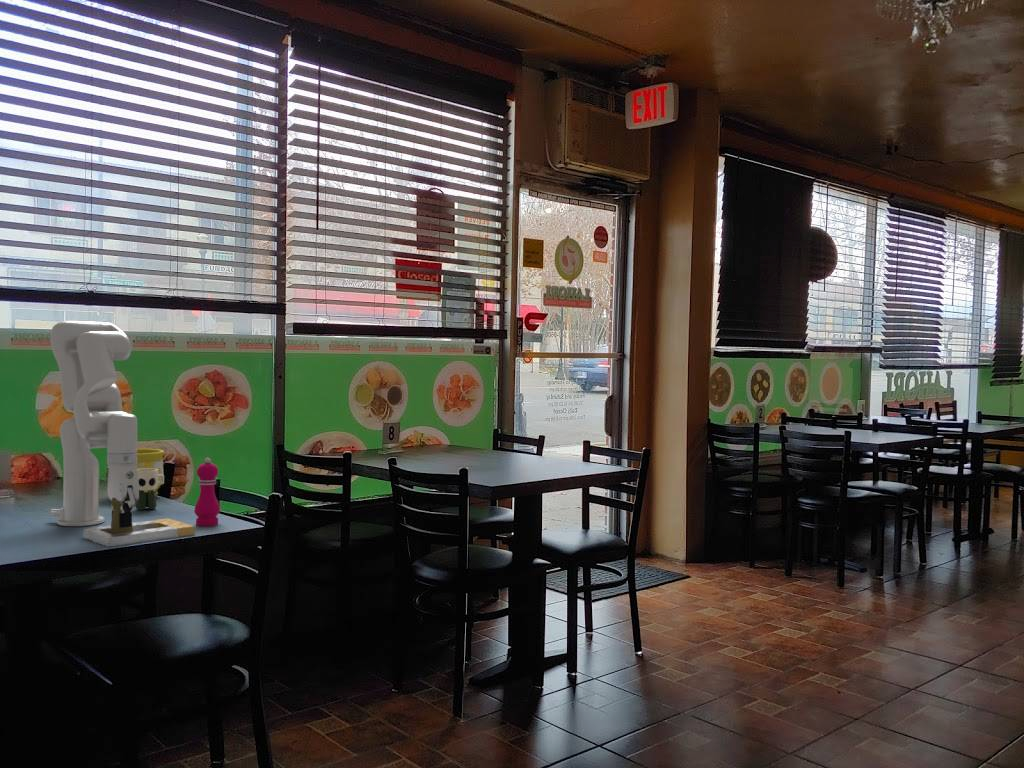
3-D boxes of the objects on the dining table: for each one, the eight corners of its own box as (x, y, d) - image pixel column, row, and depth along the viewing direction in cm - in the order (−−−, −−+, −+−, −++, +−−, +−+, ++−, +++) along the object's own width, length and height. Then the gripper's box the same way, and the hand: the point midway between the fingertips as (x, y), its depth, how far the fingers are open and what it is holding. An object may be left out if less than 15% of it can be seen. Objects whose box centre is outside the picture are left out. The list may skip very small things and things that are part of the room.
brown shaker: (137, 533, 244) (137, 493, 244) (128, 537, 238) (128, 497, 238) (114, 532, 244) (115, 493, 244) (105, 537, 238) (105, 497, 238)
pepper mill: (194, 522, 265) (194, 456, 265) (219, 521, 268) (219, 456, 267) (194, 527, 258) (195, 459, 258) (220, 526, 261) (220, 458, 260)
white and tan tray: (107, 546, 230) (108, 537, 230) (83, 537, 241) (83, 528, 241) (194, 534, 248) (194, 526, 248) (168, 526, 259) (168, 518, 259)
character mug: (128, 512, 280) (128, 471, 280) (126, 508, 287) (127, 469, 286) (165, 510, 286) (165, 470, 285) (162, 506, 292) (162, 467, 291)
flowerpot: (100, 502, 299) (100, 453, 298) (117, 493, 316) (117, 448, 316) (155, 501, 301) (156, 454, 300) (169, 493, 319) (169, 448, 318)
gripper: (149, 461, 238) (149, 528, 238) (122, 455, 249) (122, 519, 250) (121, 463, 232) (121, 532, 233) (95, 457, 243) (95, 523, 244)
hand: (121, 525), depth 241 cm, fingers closed on brown shaker, 4 cm apart
